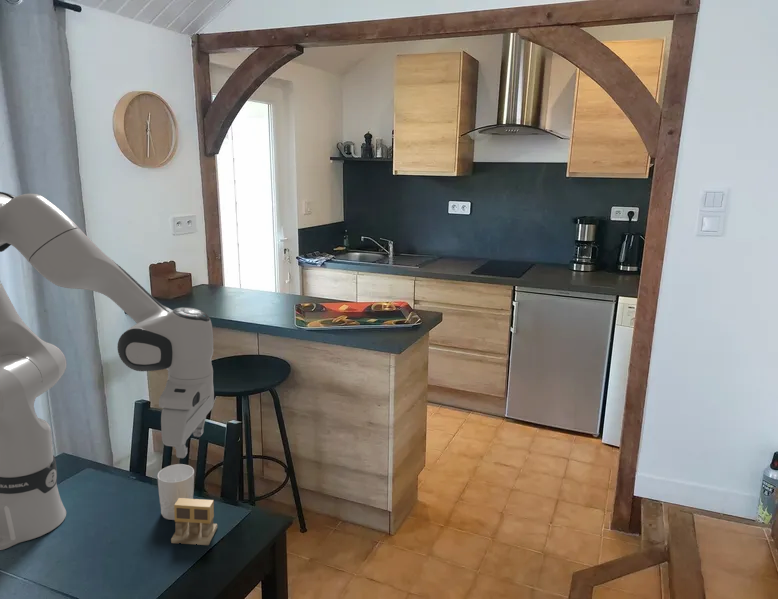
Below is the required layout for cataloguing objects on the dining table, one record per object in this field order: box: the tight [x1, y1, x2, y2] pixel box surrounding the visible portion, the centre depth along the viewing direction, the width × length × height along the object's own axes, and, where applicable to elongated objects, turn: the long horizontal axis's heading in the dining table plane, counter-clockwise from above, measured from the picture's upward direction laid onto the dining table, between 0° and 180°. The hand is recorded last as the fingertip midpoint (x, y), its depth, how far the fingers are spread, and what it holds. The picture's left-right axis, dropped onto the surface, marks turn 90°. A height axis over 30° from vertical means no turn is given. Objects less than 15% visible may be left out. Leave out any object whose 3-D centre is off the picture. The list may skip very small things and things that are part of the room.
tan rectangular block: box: [174, 498, 215, 524], centre depth 119 cm, size 8×3×4 cm, turn 89°
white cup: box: [156, 463, 195, 521], centre depth 127 cm, size 8×8×10 cm
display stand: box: [170, 518, 218, 546], centre depth 119 cm, size 8×6×4 cm
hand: (190, 445), depth 117 cm, fingers open, 8 cm apart
